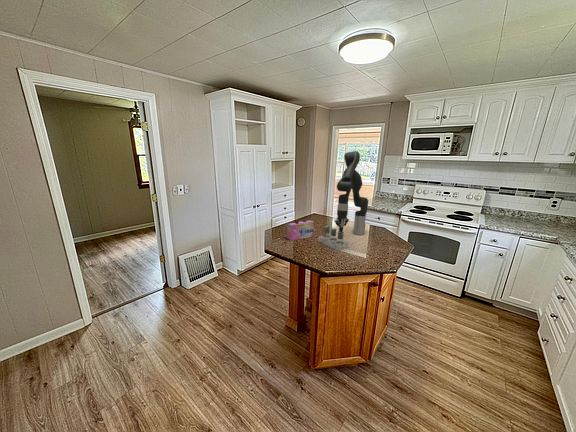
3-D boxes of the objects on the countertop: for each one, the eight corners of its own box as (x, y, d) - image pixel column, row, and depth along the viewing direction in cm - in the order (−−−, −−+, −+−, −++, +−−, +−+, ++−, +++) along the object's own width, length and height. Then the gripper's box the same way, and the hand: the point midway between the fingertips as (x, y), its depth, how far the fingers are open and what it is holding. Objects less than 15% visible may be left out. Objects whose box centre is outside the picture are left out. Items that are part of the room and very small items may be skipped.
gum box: (310, 233, 208) (310, 219, 205) (315, 236, 201) (315, 221, 198) (286, 237, 197) (286, 222, 194) (290, 240, 191) (291, 225, 187)
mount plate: (329, 238, 197) (329, 233, 196) (348, 247, 178) (348, 242, 177) (318, 240, 191) (318, 236, 190) (336, 250, 173) (336, 245, 172)
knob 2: (340, 237, 179) (341, 230, 177) (344, 238, 175) (344, 232, 174) (336, 238, 177) (337, 231, 175) (340, 239, 173) (340, 233, 172)
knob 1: (327, 231, 192) (327, 225, 191) (330, 232, 189) (330, 226, 187) (323, 231, 190) (323, 225, 189) (326, 233, 187) (326, 227, 185)
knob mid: (333, 234, 185) (334, 227, 184) (337, 235, 182) (337, 229, 181) (329, 234, 183) (330, 228, 182) (333, 236, 180) (333, 230, 179)
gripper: (345, 207, 177) (343, 228, 181) (332, 208, 170) (330, 231, 175) (353, 209, 170) (350, 231, 175) (339, 211, 164) (337, 234, 168)
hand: (340, 231), depth 175 cm, fingers closed
